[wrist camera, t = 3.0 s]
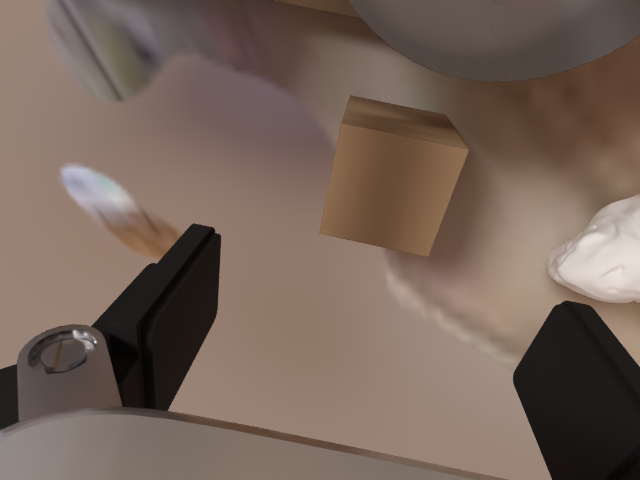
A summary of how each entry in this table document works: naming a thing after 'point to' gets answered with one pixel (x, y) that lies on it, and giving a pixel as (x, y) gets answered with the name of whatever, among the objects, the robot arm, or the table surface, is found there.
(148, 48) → the table surface
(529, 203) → the table surface
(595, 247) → the bust
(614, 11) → the balance
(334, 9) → the balance base
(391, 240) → the walnut block
